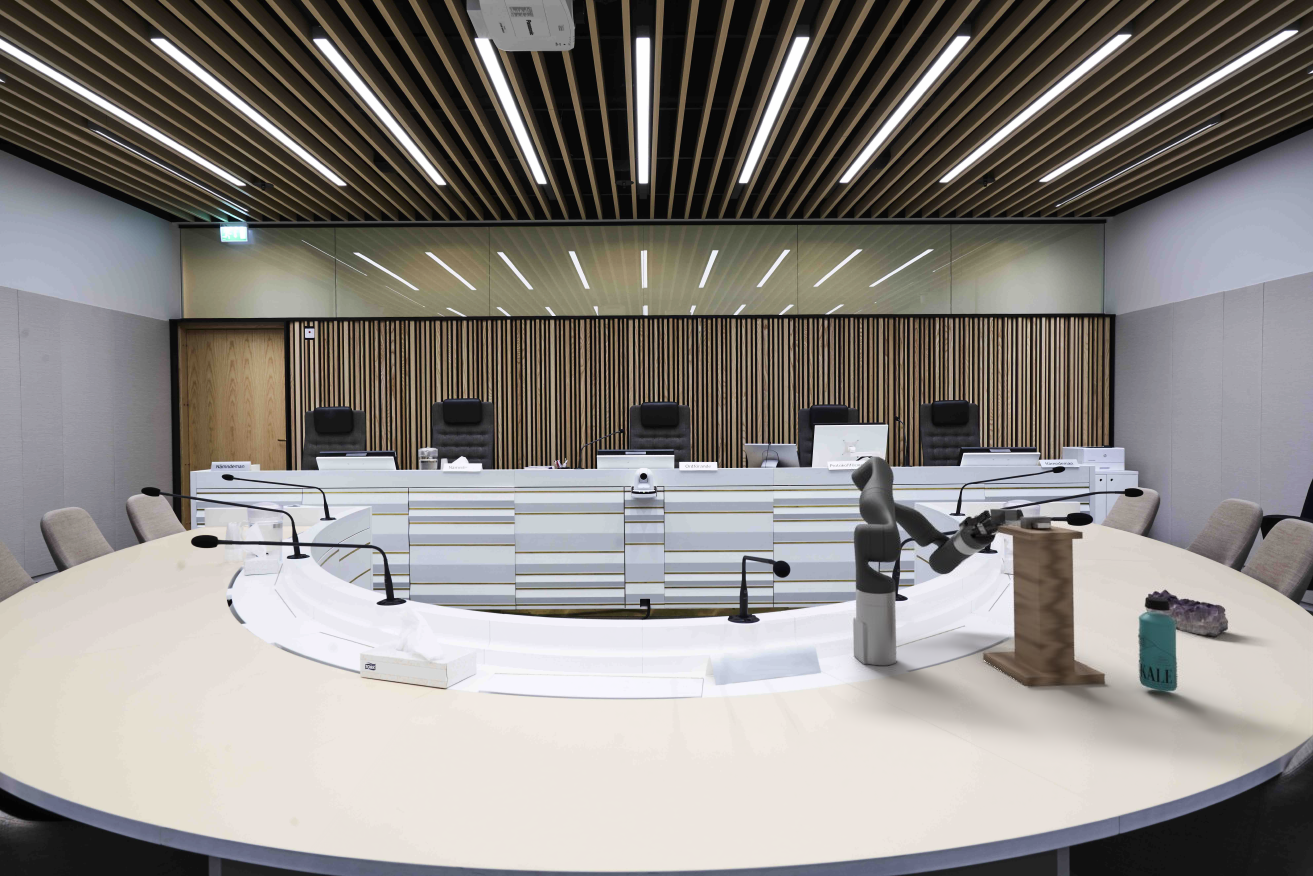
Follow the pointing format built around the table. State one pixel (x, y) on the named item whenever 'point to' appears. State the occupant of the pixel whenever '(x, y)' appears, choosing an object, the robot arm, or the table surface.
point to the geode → (1194, 615)
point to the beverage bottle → (1157, 647)
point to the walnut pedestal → (1043, 609)
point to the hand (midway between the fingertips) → (1004, 513)
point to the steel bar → (1011, 518)
